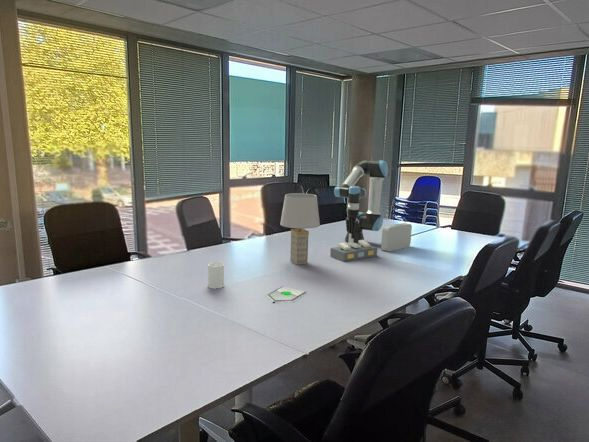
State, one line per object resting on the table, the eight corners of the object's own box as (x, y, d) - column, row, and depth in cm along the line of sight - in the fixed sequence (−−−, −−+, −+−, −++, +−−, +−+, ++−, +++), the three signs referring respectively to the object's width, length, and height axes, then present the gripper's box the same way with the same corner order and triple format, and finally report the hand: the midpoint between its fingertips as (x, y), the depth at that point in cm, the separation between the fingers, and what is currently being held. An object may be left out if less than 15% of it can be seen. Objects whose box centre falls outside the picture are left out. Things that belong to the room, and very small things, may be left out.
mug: (218, 280, 226) (218, 259, 224) (231, 283, 223) (231, 262, 220) (204, 287, 216) (204, 265, 214) (217, 290, 212) (217, 267, 210)
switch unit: (330, 256, 282) (330, 246, 281) (363, 251, 298) (363, 242, 297) (343, 261, 270) (344, 251, 269) (377, 256, 286) (377, 246, 285)
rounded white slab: (402, 244, 321) (403, 222, 318) (410, 246, 315) (412, 223, 312) (378, 249, 303) (379, 225, 300) (386, 252, 298) (388, 227, 294)
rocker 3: (358, 242, 289) (358, 240, 289) (362, 241, 292) (363, 239, 291) (365, 247, 283) (365, 245, 283) (370, 246, 286) (370, 244, 285)
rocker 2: (348, 244, 285) (348, 242, 284) (352, 244, 287) (353, 241, 287) (355, 248, 278) (355, 245, 278) (360, 247, 280) (360, 244, 280)
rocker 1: (337, 245, 280) (338, 243, 279) (342, 244, 282) (343, 242, 281) (345, 250, 274) (345, 248, 273) (350, 249, 276) (350, 247, 275)
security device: (256, 301, 200) (256, 297, 199) (280, 288, 219) (280, 284, 219) (286, 309, 192) (286, 305, 191) (308, 295, 211) (308, 291, 210)
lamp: (290, 270, 249) (292, 198, 241) (273, 259, 271) (274, 193, 263) (325, 265, 260) (328, 197, 252) (306, 255, 282) (308, 192, 274)
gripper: (342, 207, 284) (340, 240, 289) (355, 210, 273) (353, 245, 278) (351, 207, 288) (348, 239, 293) (364, 210, 277) (361, 244, 282)
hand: (350, 242), depth 285 cm, fingers closed
